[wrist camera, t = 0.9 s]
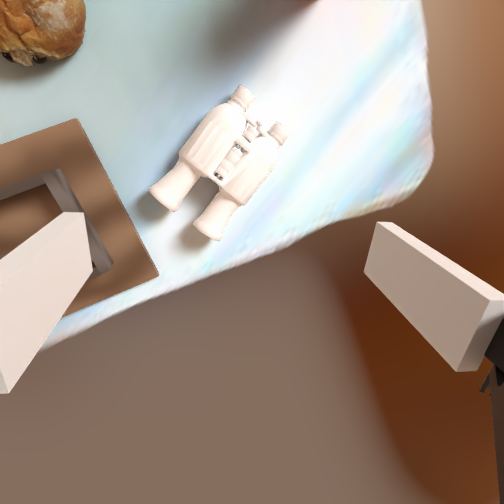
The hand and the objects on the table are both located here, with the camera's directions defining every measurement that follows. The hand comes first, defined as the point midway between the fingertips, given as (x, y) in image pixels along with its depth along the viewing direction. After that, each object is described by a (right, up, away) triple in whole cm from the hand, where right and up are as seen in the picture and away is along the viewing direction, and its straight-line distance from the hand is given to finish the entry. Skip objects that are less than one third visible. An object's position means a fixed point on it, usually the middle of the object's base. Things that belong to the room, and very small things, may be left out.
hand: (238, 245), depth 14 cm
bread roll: (-21, +23, +16) cm, 35 cm away
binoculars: (-3, +11, +25) cm, 28 cm away
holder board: (-24, +2, +22) cm, 33 cm away
